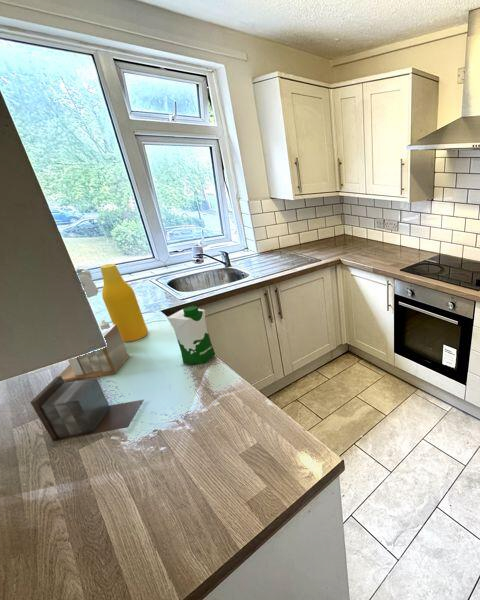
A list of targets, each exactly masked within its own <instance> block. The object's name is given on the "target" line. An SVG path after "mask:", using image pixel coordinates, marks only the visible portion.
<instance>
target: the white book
mask: <svg viewBox="0 0 480 600" xmlns="http://www.w3.org/2000/svg"><path fill="white" fill-rule="evenodd" d="M67 361H68V363H69V365H70V366H71V368H72V370H73V372H74V374H75V376H76V375H83V374H85V372H84V370H83V368H82V366H81V363H80V361H79V359H78V357H77V358H74V359H70V360H68V359H67Z"/></svg>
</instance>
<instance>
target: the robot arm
mask: <svg viewBox="0 0 480 600" xmlns="http://www.w3.org/2000/svg"><path fill="white" fill-rule="evenodd" d="M75 270H77V273H78V276H79V278H80V281H81V283H82V286H83V288H84V290H85V292H86V295H87V297H88V298H87V299H89V298H91V297H94V296H97V295H98V293H99V289H98V286H96V284H95V282H94V281H93V279H92V278H93V277H92V274H91V271H89V270H88V269H86V268H83V267H79V268H76V269H75Z"/></svg>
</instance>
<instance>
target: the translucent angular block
mask: <svg viewBox="0 0 480 600" xmlns="http://www.w3.org/2000/svg"><path fill="white" fill-rule="evenodd" d="M100 330H102V333H103V335H104V338H105V340H106V343H107V347H105V348H103V349H100V350H97V351H93V352H91V353H88V354H85V355H83V356H79V357H78V359H79V361H80V363H81V366H82V368H83V370H84V372H85V374H83V375H76V376H75V374H74V372H73V370H72V368H71V366H70V364H69V365H68V366H67V367H66V368H64V370H63V371H62V372H61V373H59V375H58V376H61V377H62V379H63V381H64V383H67V382H74V381H80V380H87V379H94V378H98V377H99V378H100V377H106V376H110V375H111V376H112V375H116V374H118V372H119V370H120V369H121V368H122V366H123V365H124V364H125V363H126V361H127V360H128V359H129V357H130V356H131V355H130V353H129V352H128V350H127V348H126V345H125V343H124V341H123V340H122V337H121V335H120V332H119V330H118V327H117V325H116V324H115V325H113V324H112V325H111V326H110V328H109V329H101V328H100Z"/></svg>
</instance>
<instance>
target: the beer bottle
mask: <svg viewBox="0 0 480 600" xmlns="http://www.w3.org/2000/svg"><path fill="white" fill-rule="evenodd" d="M99 269H100V273H101V276H102V280H103V286H102V291H101V296H102V300H103V303H104V305H105V307H106V310H107V313H108V315H109V318H110V320H111V322H112V325H115V324H116V325H117V327H118V330H119V332H120V335H121V337H122V340H123V342H125V343H126V342H127V343H128V342H134V341H138V340H140V339H142V338H145V337H146V336H147V335H148V332H149V329H148V326H147V325H146V322H145V319H144V315H143V313H142V310H141V308H140V305H139V302H138V299H137V297H136V294H135V291H134V289H133V288H132V287H131V286H130V284H128V282H127V281H125V279H123V276H122V275H121V273H120V271H119V269H118V266H117V265H116V264H115V263H108V264H102V265H101V266H99Z"/></svg>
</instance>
